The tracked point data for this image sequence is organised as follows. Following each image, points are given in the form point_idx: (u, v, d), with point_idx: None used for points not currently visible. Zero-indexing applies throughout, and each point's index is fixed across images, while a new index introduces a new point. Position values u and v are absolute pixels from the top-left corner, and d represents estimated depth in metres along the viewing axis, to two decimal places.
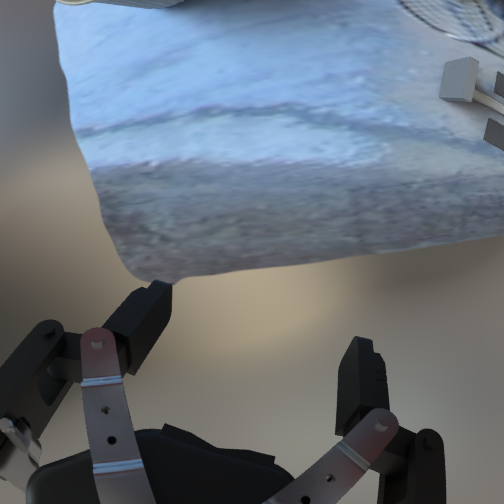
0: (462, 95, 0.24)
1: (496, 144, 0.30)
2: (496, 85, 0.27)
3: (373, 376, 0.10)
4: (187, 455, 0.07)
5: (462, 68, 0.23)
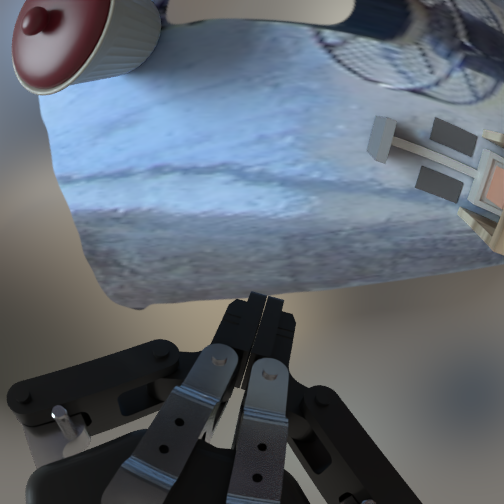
0: (376, 157, 0.31)
1: (429, 191, 0.38)
2: (432, 132, 0.35)
3: (274, 330, 0.11)
4: None
5: (381, 128, 0.31)
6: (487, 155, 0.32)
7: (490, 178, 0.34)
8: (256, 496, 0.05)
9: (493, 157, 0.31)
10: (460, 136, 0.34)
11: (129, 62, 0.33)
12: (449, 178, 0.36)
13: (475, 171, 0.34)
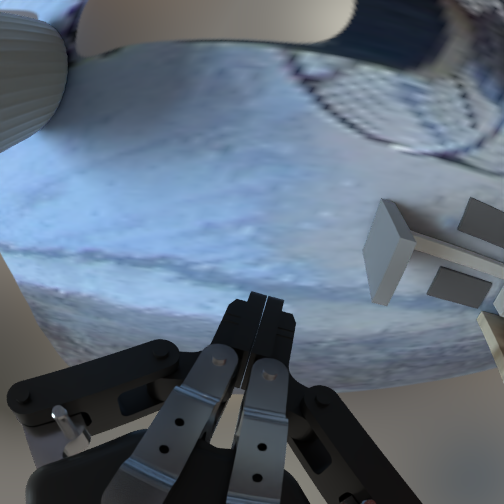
0: (373, 297, 0.20)
1: (445, 297, 0.27)
2: (463, 220, 0.23)
3: (274, 330, 0.11)
4: None
5: (388, 245, 0.20)
6: None
7: None
8: (256, 496, 0.05)
9: None
10: (500, 224, 0.22)
11: (20, 131, 0.21)
12: (475, 280, 0.25)
13: None
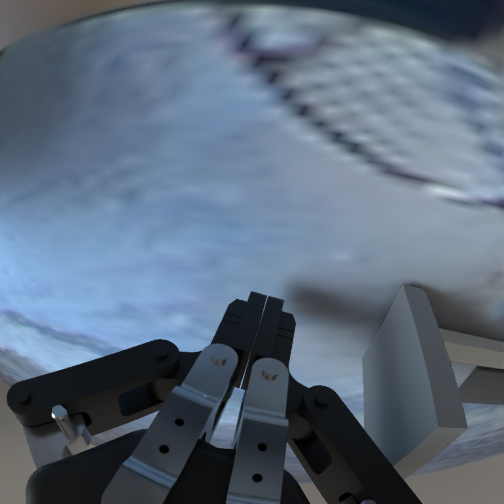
0: None
1: (475, 401, 0.16)
2: None
3: (274, 330, 0.11)
4: None
5: (409, 410, 0.09)
6: None
7: None
8: (256, 496, 0.05)
9: None
10: None
11: None
12: None
13: None
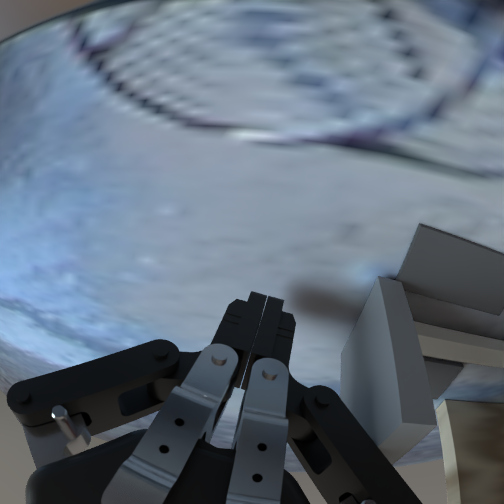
0: None
1: None
2: (404, 269, 0.13)
3: (274, 330, 0.11)
4: None
5: (377, 404, 0.09)
6: None
7: None
8: (256, 496, 0.05)
9: None
10: (485, 272, 0.12)
11: None
12: (432, 364, 0.15)
13: None
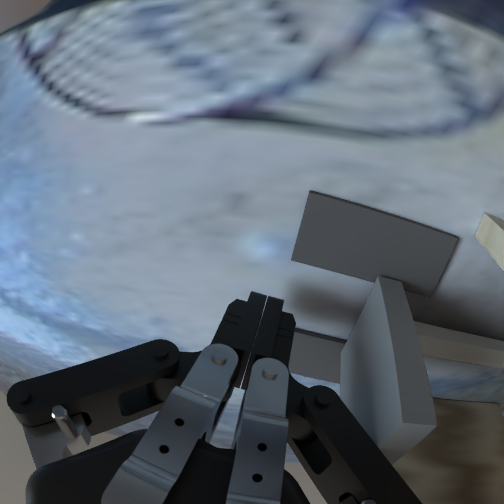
0: None
1: (297, 371, 0.17)
2: (299, 239, 0.13)
3: (274, 330, 0.11)
4: None
5: (377, 404, 0.09)
6: None
7: None
8: (256, 496, 0.05)
9: None
10: (400, 244, 0.12)
11: None
12: None
13: None
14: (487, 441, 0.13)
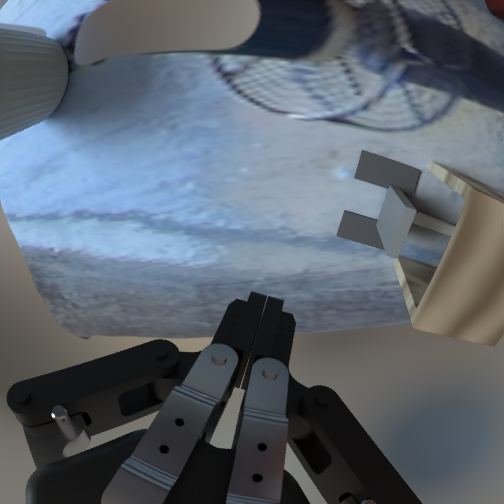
0: (387, 251, 0.28)
1: (354, 239, 0.36)
2: (357, 169, 0.32)
3: (274, 330, 0.11)
4: None
5: (396, 214, 0.27)
6: None
7: None
8: (256, 496, 0.05)
9: None
10: (396, 172, 0.31)
11: (33, 116, 0.30)
12: None
13: None
14: None
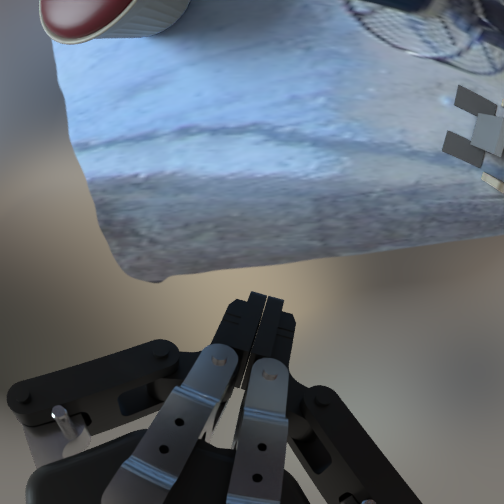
0: (494, 151, 0.28)
1: (455, 155, 0.36)
2: (456, 98, 0.33)
3: (274, 330, 0.11)
4: None
5: (495, 126, 0.28)
6: None
7: None
8: (256, 496, 0.05)
9: None
10: (482, 104, 0.32)
11: (161, 20, 0.31)
12: None
13: None
14: None
